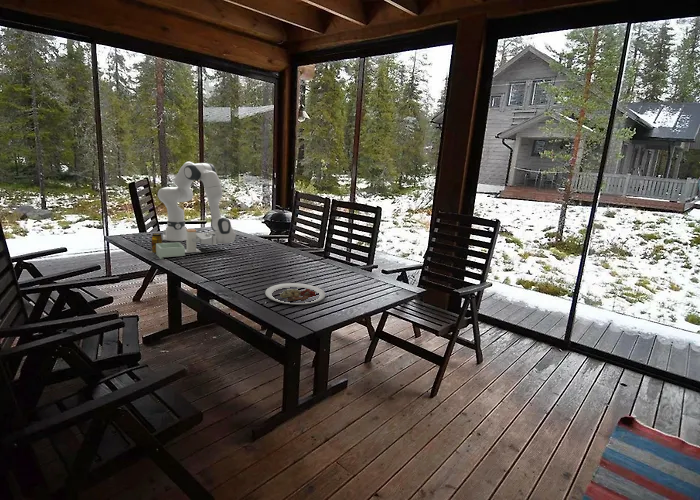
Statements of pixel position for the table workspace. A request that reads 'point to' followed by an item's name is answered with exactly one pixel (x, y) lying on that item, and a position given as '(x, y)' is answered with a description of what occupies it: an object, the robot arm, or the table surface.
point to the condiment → (155, 241)
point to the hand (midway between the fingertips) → (190, 238)
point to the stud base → (192, 251)
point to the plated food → (295, 292)
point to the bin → (169, 250)
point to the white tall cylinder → (190, 240)
